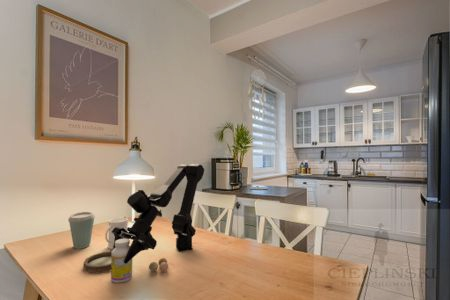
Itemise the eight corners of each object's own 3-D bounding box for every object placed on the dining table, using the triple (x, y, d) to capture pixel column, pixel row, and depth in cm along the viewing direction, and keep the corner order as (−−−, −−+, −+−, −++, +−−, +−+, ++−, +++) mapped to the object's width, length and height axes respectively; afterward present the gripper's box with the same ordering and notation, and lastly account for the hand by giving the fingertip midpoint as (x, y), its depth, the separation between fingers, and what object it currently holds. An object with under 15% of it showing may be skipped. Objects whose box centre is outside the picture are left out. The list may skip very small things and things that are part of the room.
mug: (111, 253, 102) (111, 225, 102) (97, 250, 105) (97, 223, 106) (131, 244, 113) (132, 218, 113) (118, 241, 116) (118, 217, 117)
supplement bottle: (115, 274, 84) (116, 237, 84) (134, 273, 84) (135, 237, 85) (107, 284, 77) (108, 244, 78) (128, 283, 78) (129, 243, 78)
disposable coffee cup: (92, 248, 107) (93, 215, 107) (64, 252, 103) (65, 217, 103) (95, 241, 117) (96, 210, 117) (70, 244, 113) (71, 212, 113)
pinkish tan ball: (167, 268, 88) (167, 260, 88) (168, 272, 85) (168, 263, 85) (158, 270, 87) (158, 261, 87) (159, 274, 84) (159, 265, 84)
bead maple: (157, 268, 88) (157, 259, 88) (158, 272, 85) (158, 263, 85) (148, 269, 87) (148, 261, 87) (148, 273, 84) (149, 264, 84)
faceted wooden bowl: (125, 254, 100) (125, 249, 101) (123, 269, 87) (123, 263, 87) (88, 259, 96) (88, 253, 96) (79, 275, 83) (79, 269, 83)
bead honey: (166, 264, 92) (166, 256, 92) (167, 267, 89) (167, 259, 89) (158, 265, 91) (158, 257, 91) (158, 269, 88) (158, 260, 88)
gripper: (173, 235, 89) (150, 277, 80) (140, 227, 99) (116, 264, 89) (158, 219, 83) (130, 262, 73) (124, 212, 93) (96, 250, 83)
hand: (118, 260), depth 80 cm, fingers closed on supplement bottle, 7 cm apart
